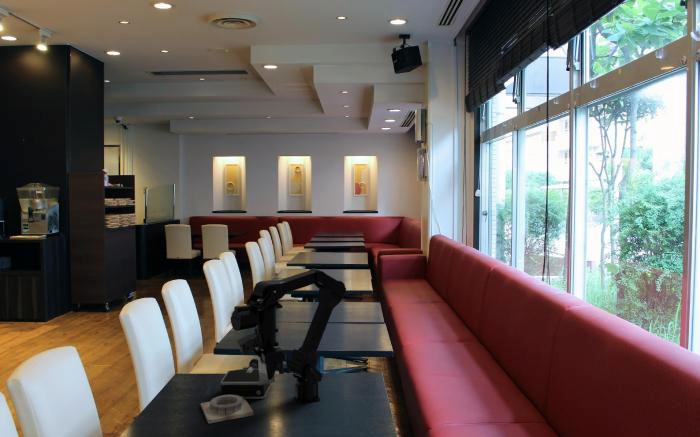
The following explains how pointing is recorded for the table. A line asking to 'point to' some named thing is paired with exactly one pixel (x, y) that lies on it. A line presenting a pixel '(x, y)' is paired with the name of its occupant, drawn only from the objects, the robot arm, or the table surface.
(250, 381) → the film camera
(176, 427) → the table surface
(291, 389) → the table surface
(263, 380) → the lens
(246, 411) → the mount
